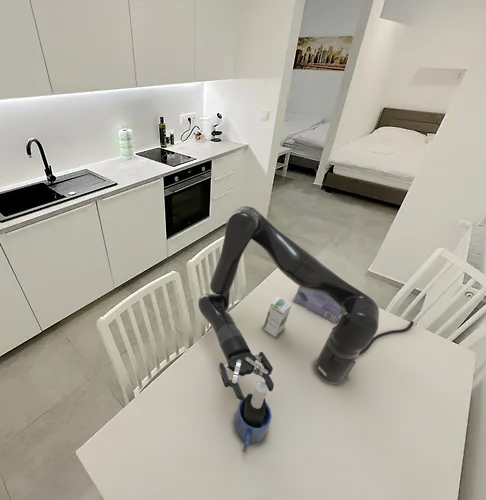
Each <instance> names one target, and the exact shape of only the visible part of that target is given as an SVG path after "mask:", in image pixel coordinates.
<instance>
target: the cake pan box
mask: <svg viewBox="0 0 486 500" xmlns="http://www.w3.org/2000/svg"><path fill="white" fill-rule="evenodd" d="M295 293H296V294H295V296H294V298H293V302H294V303H297V304H298V305H300V306H302V307H304V308H306V309H308V310H309V311H311V312H313V313H315V314H316V315H319V316H321V317H323V318H324V319H327V320H329V321H330V322H332V323H334V324H337V322H338V321H339V319H340V316H341V311H342V308H341V306H340V305H339V304H338V303H337V302H335V301H334V300H333V299H332V298H330V297H329V296H327V295H326V294H324V293H321V292H318V291H313V290H309V289H306V288H303V287H301V286H299V285H298V288H297V290H296V292H295Z"/></svg>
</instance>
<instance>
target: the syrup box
mask: <svg viewBox="0 0 486 500" xmlns="http://www.w3.org/2000/svg"><path fill="white" fill-rule="evenodd" d="M291 309H292V304H291V303H289V302H288V301H286V300H284V299H283V298H281V297H277V298H276V299H275V300H273V302H271V303H270V305H269V307H268V311H267V315H266V318H265V321H264V325H263V330H264V331H265V332H267V333H268V334H270V335H271V336H272V337H274V338H277V336H279V334H281V332H282V331H283V330H284V328H285V325H286V322H287V319H288V316H289V314H290V311H291Z"/></svg>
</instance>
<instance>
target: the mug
mask: <svg viewBox="0 0 486 500" xmlns="http://www.w3.org/2000/svg"><path fill="white" fill-rule="evenodd" d="M246 397H247V395H246V396H244V399H243V400H241V401H240V400H239V403H238V406H237V410H236V414H235V418H234V430H235V432H236V435H237V436H238V437H239V438H240V439H241V440H242V441H243V447H242V452H243V453H244V454H246V453H247V450H248V447H249V445H256V444H258V443H261V442H262V441H263V440H264V438H265V436H266V435H267V431H268V429H269V427H270V424H271V422H272V417H273V415H272V410H271V407H270V406H269V404H268V402H266V413H265V416H264V419H263V421H262V424H261V426H260V428H253V427H251V426H249V425H247V424H246V423H245V422H244V421H243V419H242V417H241V416H242V412H243V408H244V405H245V401H246Z"/></svg>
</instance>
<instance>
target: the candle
mask: <svg viewBox="0 0 486 500" xmlns="http://www.w3.org/2000/svg"><path fill="white" fill-rule="evenodd" d="M267 392H268V388H267V385H266V384H265V380H264V379H263V378H262V379H261V381H258V382H256V384H255V386H254V390H253V393H247V395H246V396H247V397H246V396H245V397H246V401H245V405H244V408H243V412H242V416H241V417H242V419H243V421H244V422H245V423H246V424H247V425H249V426H251V427H253V428H260V426H261V424H262V421H263V419H264V416H265V413H266V403H267V402H266V401H267V400H266V395H267Z"/></svg>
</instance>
